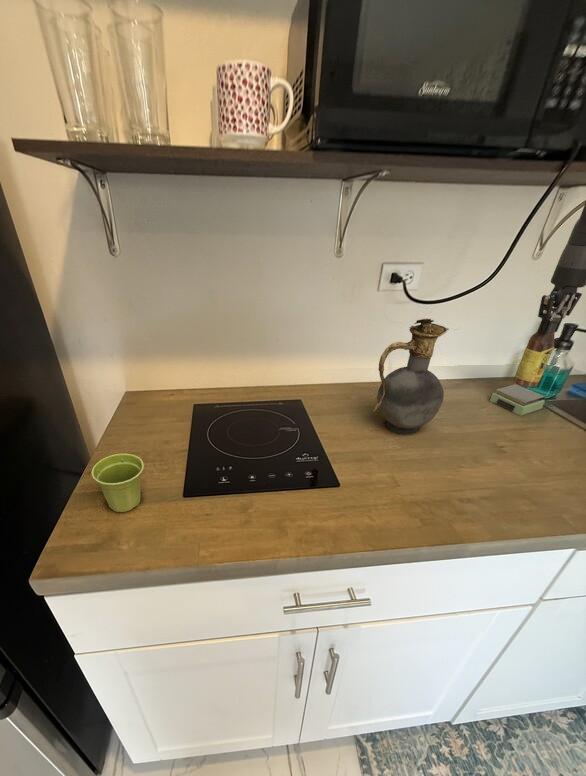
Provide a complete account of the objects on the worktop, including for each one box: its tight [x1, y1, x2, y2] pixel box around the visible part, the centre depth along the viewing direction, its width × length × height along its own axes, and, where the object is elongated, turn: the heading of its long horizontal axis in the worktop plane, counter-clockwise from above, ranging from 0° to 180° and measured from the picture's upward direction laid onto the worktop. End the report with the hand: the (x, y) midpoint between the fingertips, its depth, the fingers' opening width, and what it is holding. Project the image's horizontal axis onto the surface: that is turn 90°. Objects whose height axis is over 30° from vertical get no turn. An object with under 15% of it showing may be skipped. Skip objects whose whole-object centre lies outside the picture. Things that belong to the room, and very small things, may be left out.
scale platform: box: [494, 383, 546, 405], centre depth 116 cm, size 9×9×1 cm
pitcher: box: [372, 318, 450, 435], centre depth 96 cm, size 11×19×30 cm, turn 108°
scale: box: [489, 392, 546, 416], centre depth 117 cm, size 10×10×3 cm
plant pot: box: [91, 453, 145, 513], centre depth 76 cm, size 9×9×9 cm
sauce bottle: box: [513, 314, 561, 388], centre depth 108 cm, size 6×6×20 cm
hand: (546, 332), depth 105 cm, fingers closed on sauce bottle, 4 cm apart
